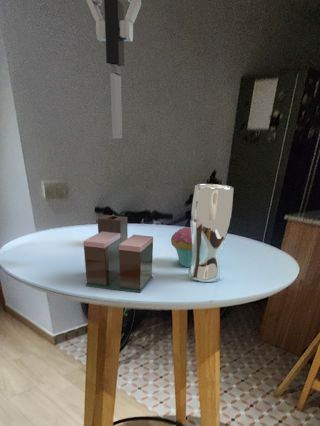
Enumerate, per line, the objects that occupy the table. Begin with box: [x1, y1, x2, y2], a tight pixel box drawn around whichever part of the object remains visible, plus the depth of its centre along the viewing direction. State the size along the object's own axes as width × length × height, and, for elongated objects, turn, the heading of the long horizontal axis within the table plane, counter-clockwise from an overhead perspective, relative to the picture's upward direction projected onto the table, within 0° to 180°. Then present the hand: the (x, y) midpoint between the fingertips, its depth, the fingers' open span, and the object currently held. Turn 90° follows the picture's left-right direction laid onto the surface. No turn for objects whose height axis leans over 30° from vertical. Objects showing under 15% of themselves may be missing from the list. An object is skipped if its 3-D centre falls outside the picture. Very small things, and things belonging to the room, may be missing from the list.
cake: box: [83, 232, 154, 294], centre depth 63 cm, size 10×9×7 cm
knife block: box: [97, 214, 129, 243], centre depth 85 cm, size 5×5×6 cm
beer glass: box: [187, 183, 235, 283], centre depth 65 cm, size 7×7×15 cm
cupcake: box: [170, 226, 192, 268], centre depth 73 cm, size 9×8×12 cm
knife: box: [103, 0, 125, 140], centre depth 52 cm, size 2×3×14 cm, turn 167°
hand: (115, 40), depth 50 cm, fingers closed on knife, 2 cm apart
